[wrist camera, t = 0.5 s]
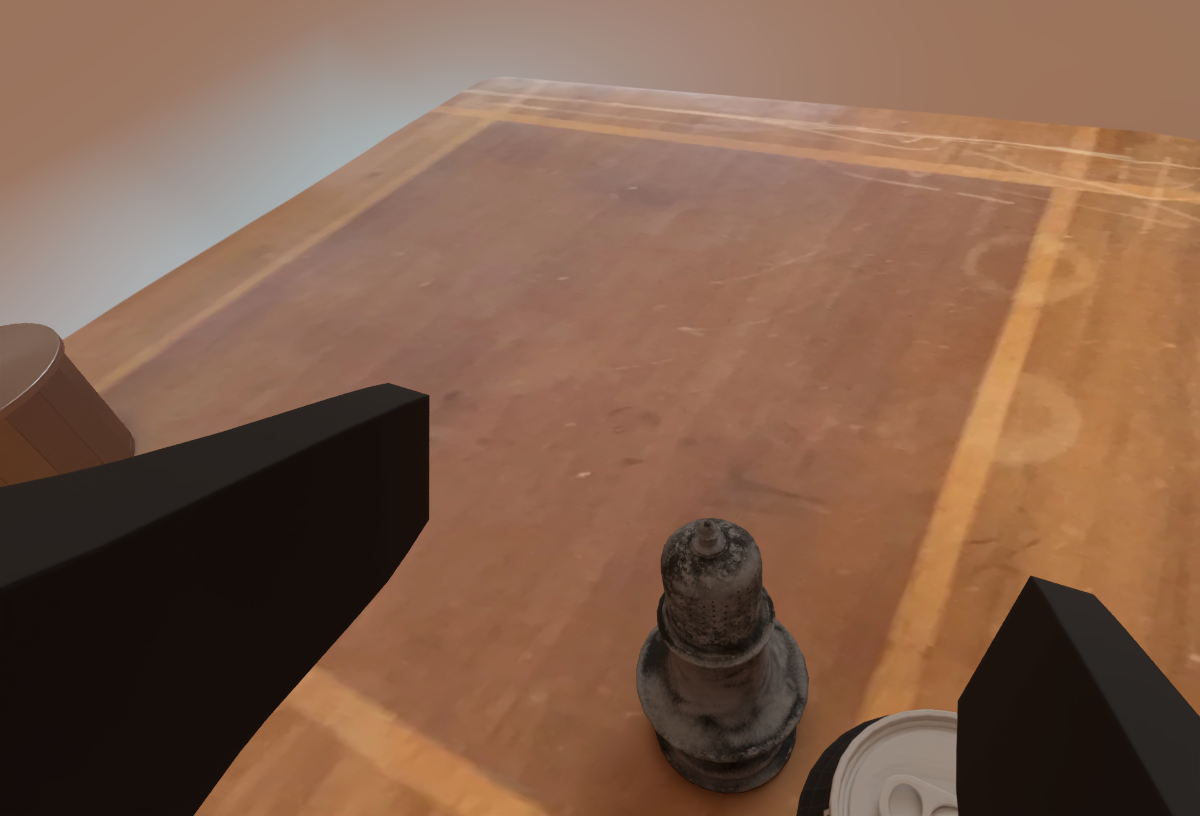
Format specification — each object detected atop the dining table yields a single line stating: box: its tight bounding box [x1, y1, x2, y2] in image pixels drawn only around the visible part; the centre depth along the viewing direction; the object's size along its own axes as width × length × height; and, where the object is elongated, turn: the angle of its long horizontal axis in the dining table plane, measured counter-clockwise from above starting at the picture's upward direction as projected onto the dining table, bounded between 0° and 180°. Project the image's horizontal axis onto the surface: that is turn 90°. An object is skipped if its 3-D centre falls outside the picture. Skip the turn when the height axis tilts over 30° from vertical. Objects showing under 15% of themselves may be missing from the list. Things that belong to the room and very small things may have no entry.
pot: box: [0, 353, 135, 487], centre depth 42 cm, size 10×10×7 cm
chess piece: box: [636, 518, 809, 793], centre depth 23 cm, size 6×6×12 cm
